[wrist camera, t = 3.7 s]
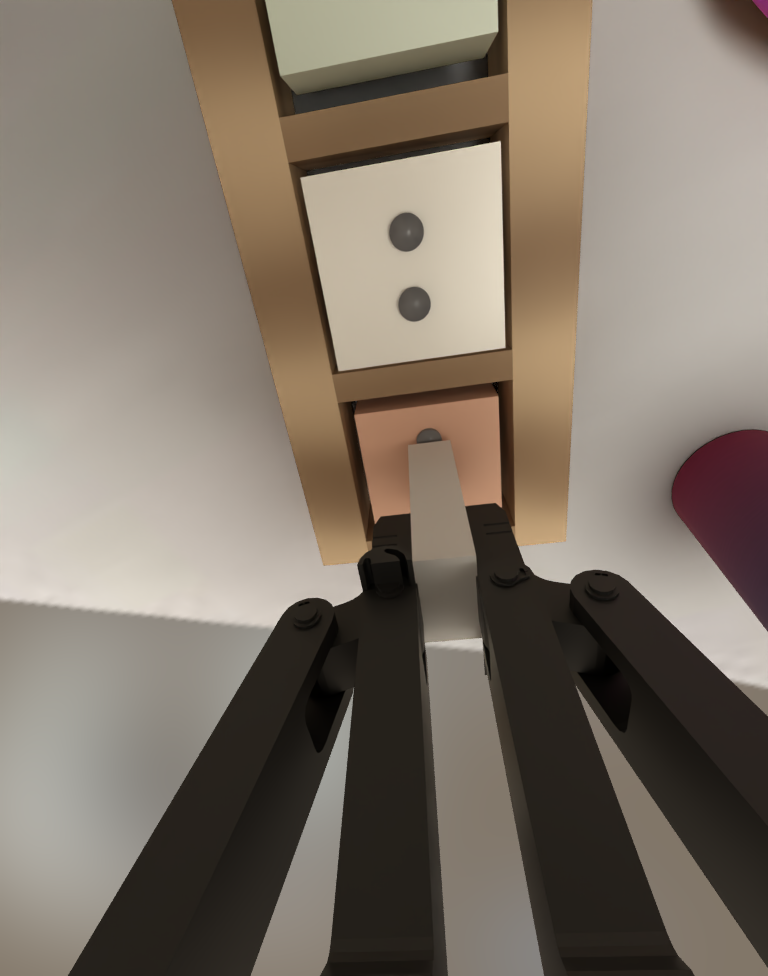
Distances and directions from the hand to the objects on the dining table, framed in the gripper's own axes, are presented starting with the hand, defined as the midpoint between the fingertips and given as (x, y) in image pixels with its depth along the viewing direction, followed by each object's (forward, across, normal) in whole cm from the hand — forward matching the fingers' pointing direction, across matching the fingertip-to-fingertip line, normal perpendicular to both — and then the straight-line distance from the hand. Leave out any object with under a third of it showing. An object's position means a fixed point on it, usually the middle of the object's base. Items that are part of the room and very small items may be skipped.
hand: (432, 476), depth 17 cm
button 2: (+1, 0, +7) cm, 7 cm away
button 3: (+3, 0, 0) cm, 3 cm away
